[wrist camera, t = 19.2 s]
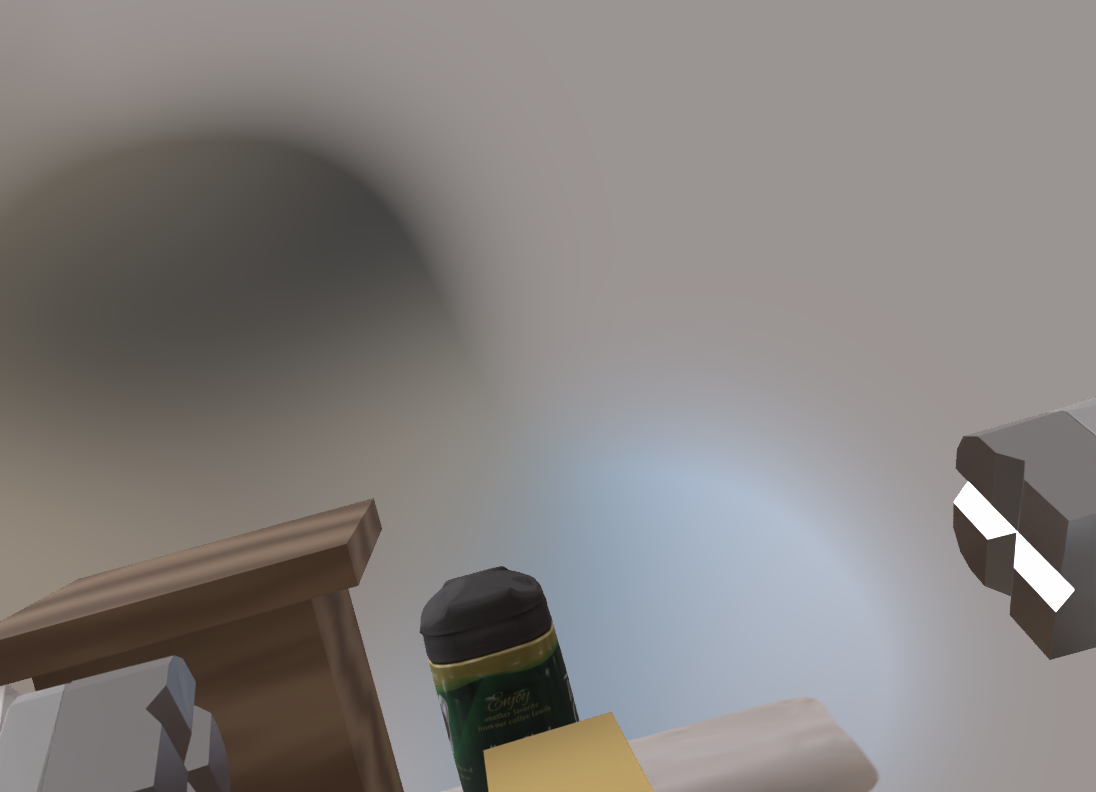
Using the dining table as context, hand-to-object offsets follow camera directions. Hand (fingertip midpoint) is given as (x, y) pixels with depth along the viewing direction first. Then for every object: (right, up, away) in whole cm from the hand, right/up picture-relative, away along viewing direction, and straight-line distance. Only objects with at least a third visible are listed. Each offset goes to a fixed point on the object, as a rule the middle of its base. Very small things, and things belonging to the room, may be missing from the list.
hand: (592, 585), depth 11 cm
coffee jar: (0, -27, +53) cm, 60 cm away
